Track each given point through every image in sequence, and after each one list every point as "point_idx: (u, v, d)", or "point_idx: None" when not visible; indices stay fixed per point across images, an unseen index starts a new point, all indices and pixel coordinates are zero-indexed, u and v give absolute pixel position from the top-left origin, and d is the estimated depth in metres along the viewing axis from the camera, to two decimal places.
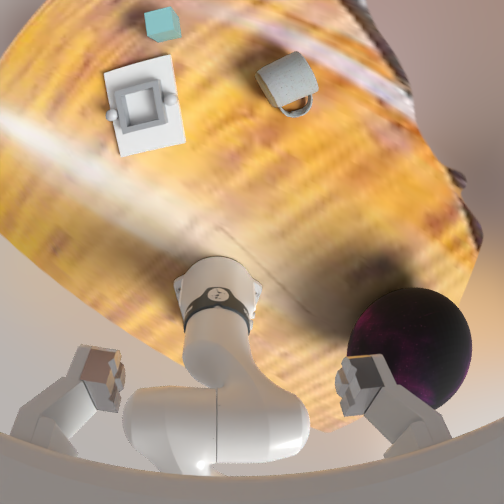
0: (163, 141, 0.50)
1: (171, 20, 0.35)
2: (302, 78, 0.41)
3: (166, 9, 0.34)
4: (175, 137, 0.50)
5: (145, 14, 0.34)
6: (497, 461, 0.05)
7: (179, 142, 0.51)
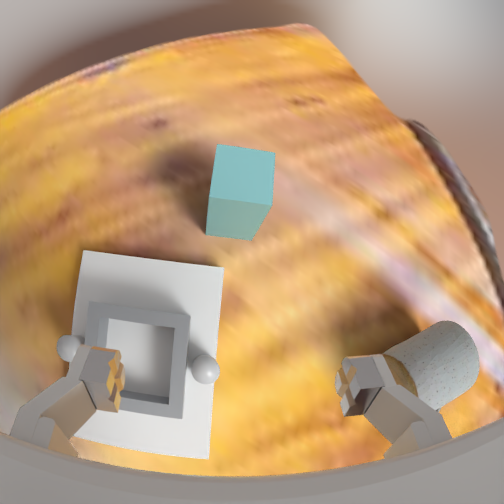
0: (163, 443, 0.21)
1: (270, 183, 0.20)
2: (466, 372, 0.20)
3: (265, 155, 0.21)
4: (189, 444, 0.21)
5: (219, 147, 0.20)
6: (497, 461, 0.05)
7: (196, 455, 0.21)
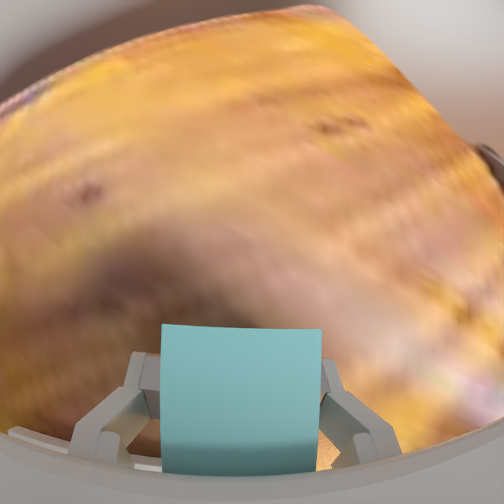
0: None
1: (312, 419, 0.07)
2: None
3: (296, 343, 0.08)
4: None
5: (168, 336, 0.07)
6: (497, 461, 0.05)
7: None
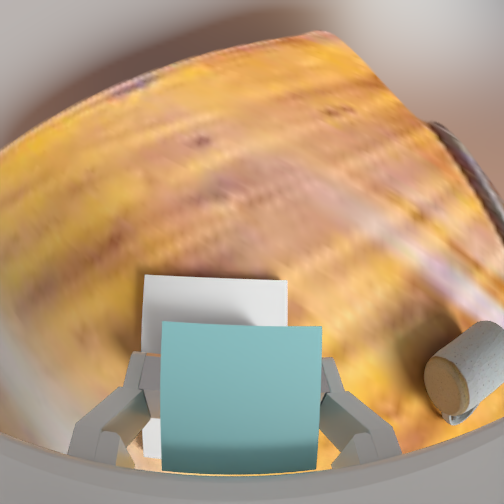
0: None
1: (313, 417, 0.07)
2: None
3: (297, 340, 0.08)
4: None
5: (168, 333, 0.07)
6: (497, 461, 0.05)
7: None
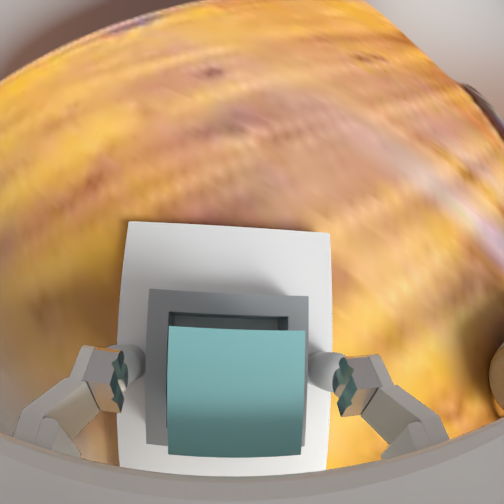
0: None
1: (297, 408, 0.09)
2: None
3: (283, 342, 0.09)
4: None
5: (174, 336, 0.09)
6: (497, 461, 0.05)
7: None
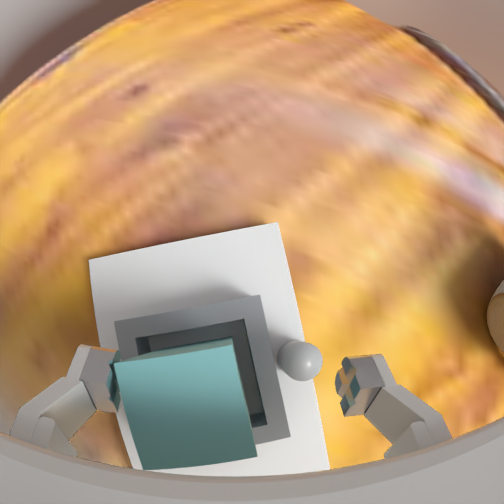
0: (268, 471, 0.16)
1: (242, 416, 0.09)
2: None
3: (213, 359, 0.09)
4: (302, 461, 0.16)
5: (120, 371, 0.09)
6: (497, 461, 0.05)
7: (314, 470, 0.16)
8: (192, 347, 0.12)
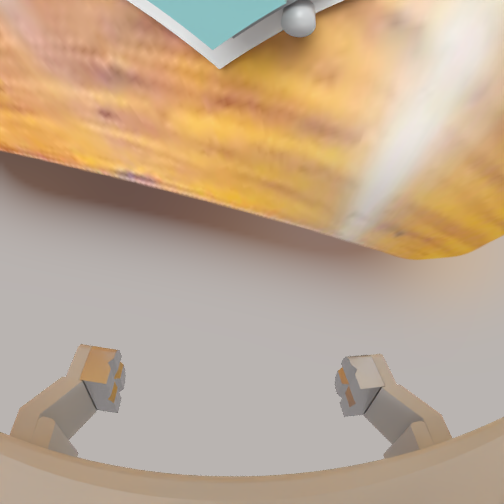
0: None
1: None
2: None
3: (160, 1, 0.09)
4: None
5: (214, 44, 0.11)
6: (497, 461, 0.05)
7: None
8: None
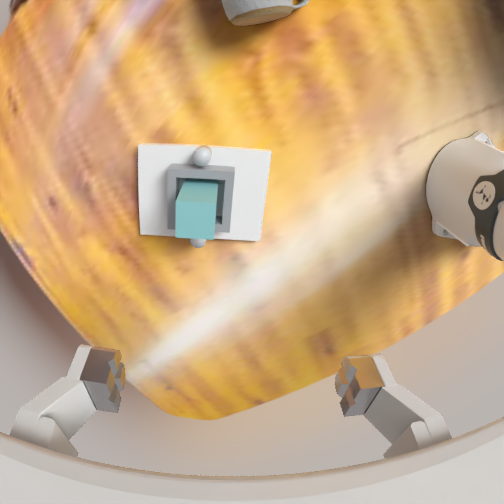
0: (259, 180, 0.38)
1: (200, 204, 0.31)
2: None
3: (179, 207, 0.31)
4: (259, 163, 0.37)
5: (178, 236, 0.32)
6: (497, 461, 0.05)
7: (268, 159, 0.37)
8: None
